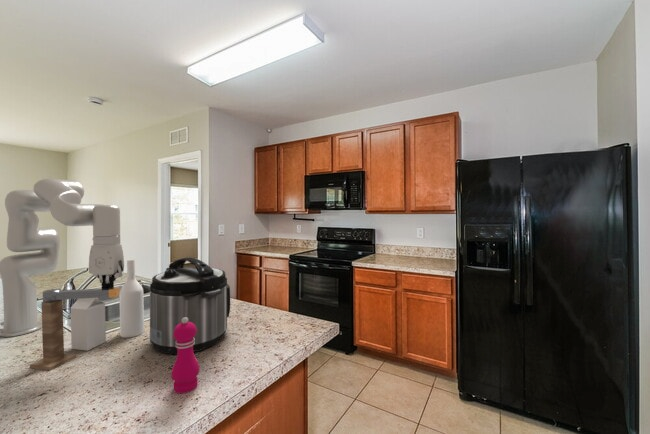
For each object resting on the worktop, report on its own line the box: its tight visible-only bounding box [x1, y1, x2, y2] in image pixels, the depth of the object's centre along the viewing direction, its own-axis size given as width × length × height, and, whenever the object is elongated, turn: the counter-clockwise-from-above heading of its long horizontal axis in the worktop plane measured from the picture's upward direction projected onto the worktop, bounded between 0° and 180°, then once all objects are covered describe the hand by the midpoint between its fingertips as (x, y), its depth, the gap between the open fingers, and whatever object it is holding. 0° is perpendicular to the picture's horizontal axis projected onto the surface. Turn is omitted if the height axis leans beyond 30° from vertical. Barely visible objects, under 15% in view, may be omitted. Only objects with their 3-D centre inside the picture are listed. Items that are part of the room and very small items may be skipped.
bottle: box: [118, 258, 145, 338], centre depth 118 cm, size 8×8×30 cm
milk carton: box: [70, 298, 107, 352], centre depth 108 cm, size 7×7×19 cm
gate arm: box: [42, 286, 121, 302], centre depth 97 cm, size 21×4×3 cm, turn 101°
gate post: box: [29, 299, 77, 371], centre depth 96 cm, size 8×8×20 cm
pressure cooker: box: [149, 257, 231, 355], centre depth 113 cm, size 30×28×32 cm
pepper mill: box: [170, 317, 200, 394], centre depth 83 cm, size 7×7×20 cm
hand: (107, 293), depth 101 cm, fingers closed
